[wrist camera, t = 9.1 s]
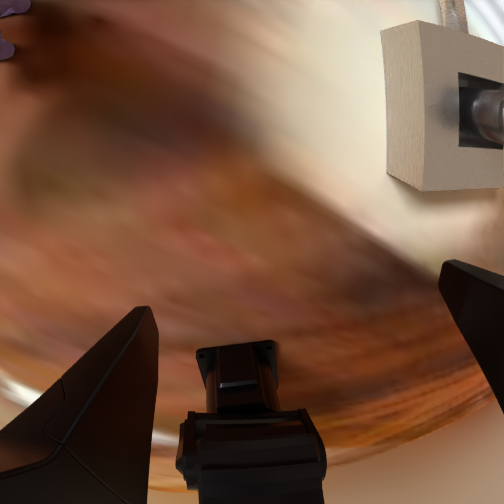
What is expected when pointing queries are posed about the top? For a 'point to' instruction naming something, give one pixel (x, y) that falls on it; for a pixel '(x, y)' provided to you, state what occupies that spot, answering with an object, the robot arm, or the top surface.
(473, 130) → the dark metal cylinder
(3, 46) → the toy
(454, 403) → the top surface
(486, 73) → the grey holed paddle
